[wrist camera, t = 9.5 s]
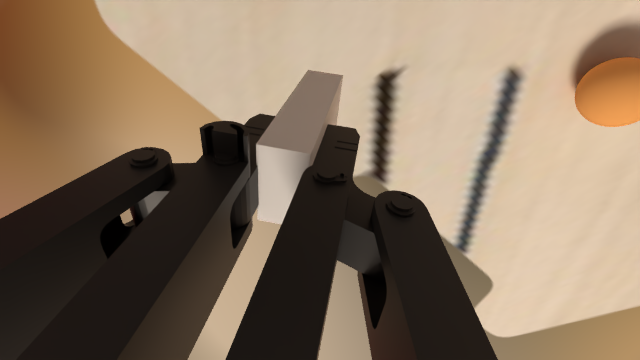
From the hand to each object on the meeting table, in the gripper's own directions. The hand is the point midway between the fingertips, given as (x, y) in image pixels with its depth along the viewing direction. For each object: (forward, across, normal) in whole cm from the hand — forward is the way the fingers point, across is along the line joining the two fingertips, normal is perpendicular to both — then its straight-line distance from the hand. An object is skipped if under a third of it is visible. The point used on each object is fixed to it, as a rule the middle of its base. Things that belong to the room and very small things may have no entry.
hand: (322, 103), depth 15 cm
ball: (+20, +24, -3) cm, 31 cm away
